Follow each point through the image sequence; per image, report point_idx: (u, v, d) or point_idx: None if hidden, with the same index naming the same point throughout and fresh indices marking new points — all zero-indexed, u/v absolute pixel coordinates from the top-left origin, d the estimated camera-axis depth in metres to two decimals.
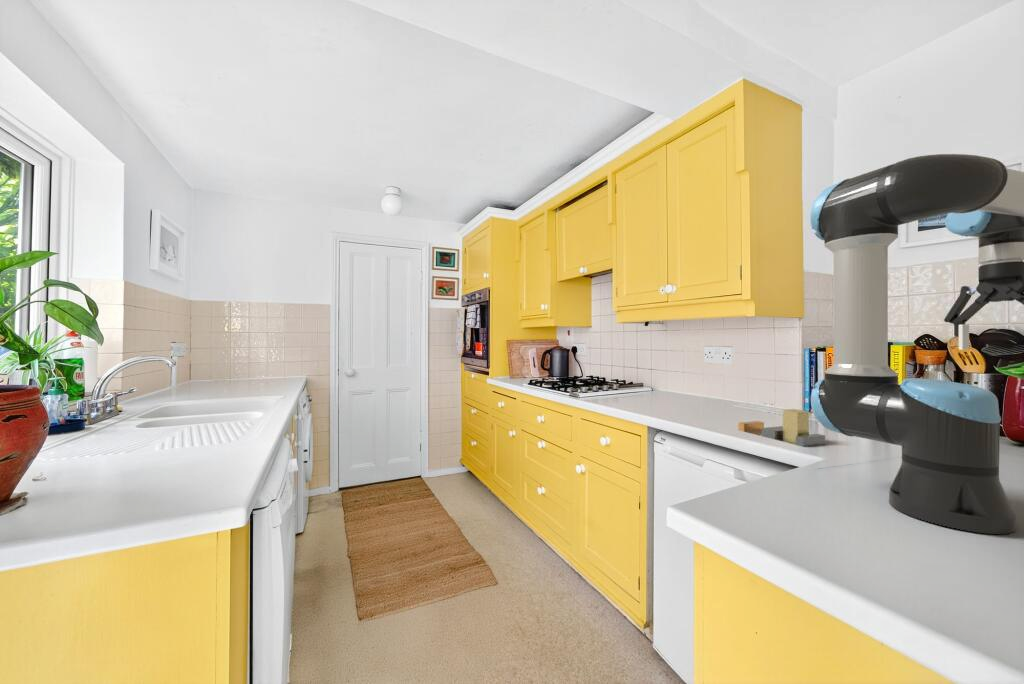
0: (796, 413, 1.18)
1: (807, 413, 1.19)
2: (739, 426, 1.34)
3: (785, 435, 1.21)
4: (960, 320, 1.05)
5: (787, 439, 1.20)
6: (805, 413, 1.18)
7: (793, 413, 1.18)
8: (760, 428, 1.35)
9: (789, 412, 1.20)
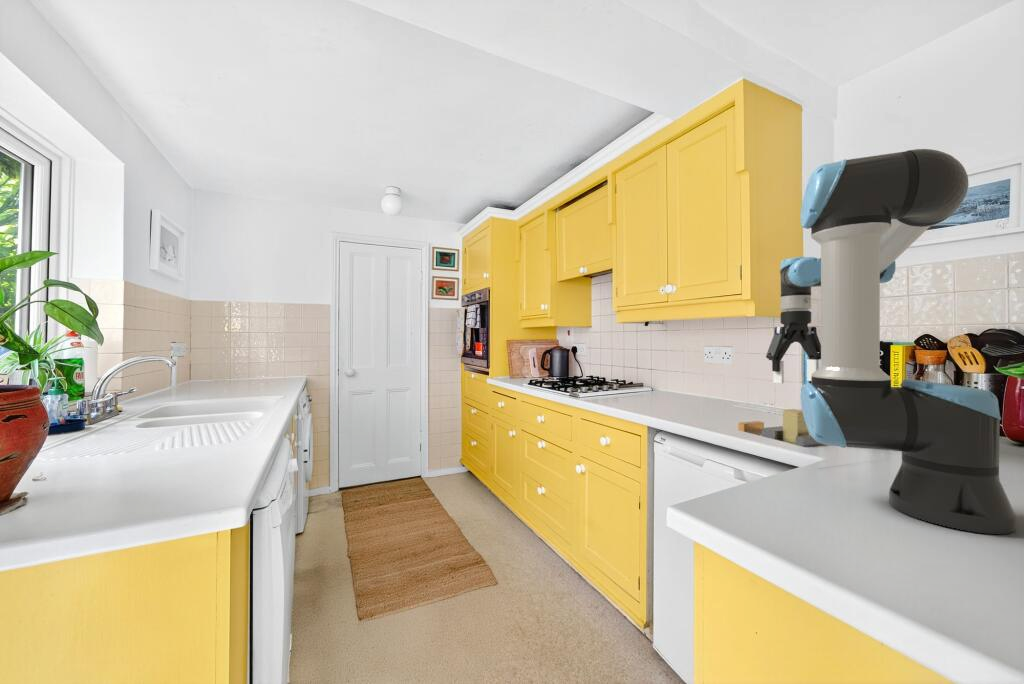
0: (796, 413, 1.18)
1: None
2: (739, 426, 1.34)
3: (785, 435, 1.21)
4: (808, 355, 1.23)
5: (787, 439, 1.20)
6: None
7: (793, 413, 1.18)
8: (760, 428, 1.35)
9: (789, 412, 1.20)
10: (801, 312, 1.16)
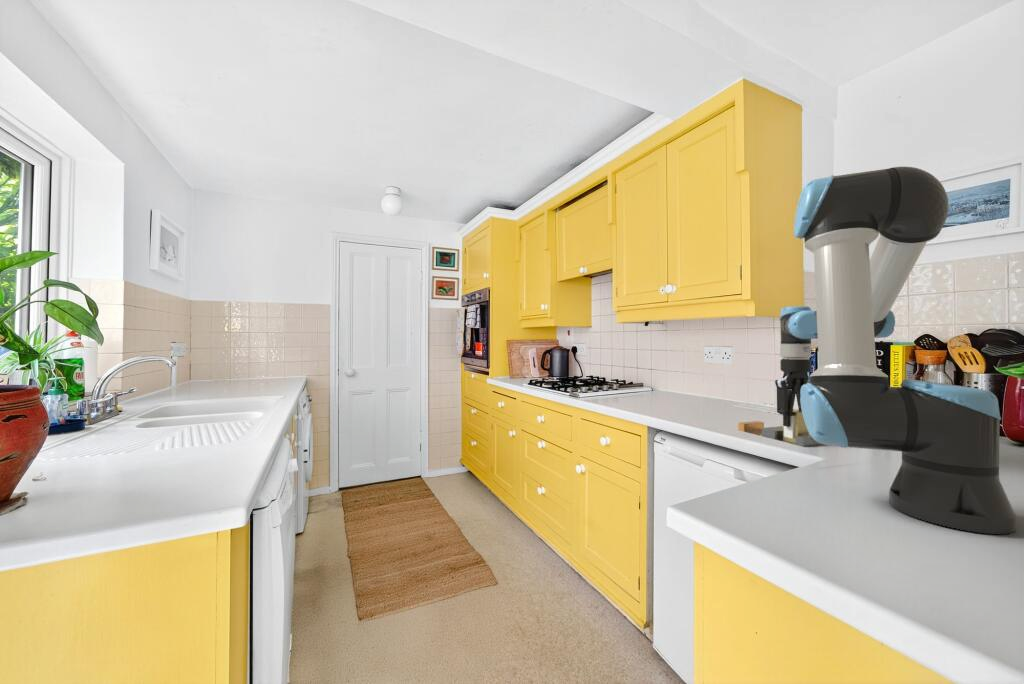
0: (796, 413, 1.18)
1: None
2: (739, 426, 1.34)
3: None
4: (799, 409, 1.22)
5: (787, 439, 1.20)
6: None
7: (793, 413, 1.18)
8: (760, 428, 1.35)
9: None
10: (801, 361, 1.16)
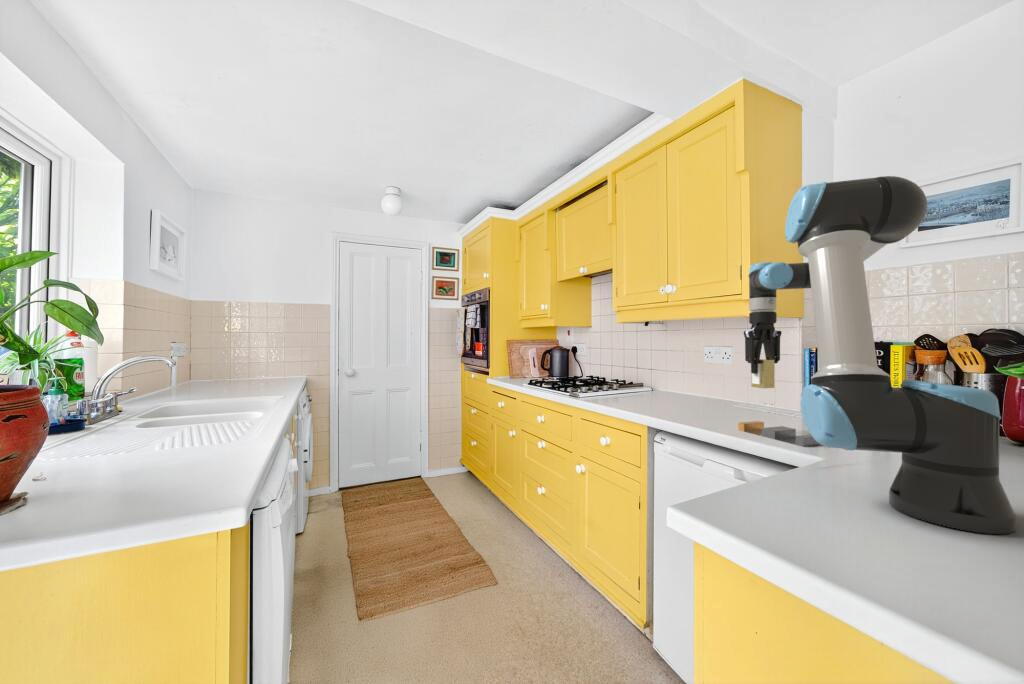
0: (762, 361, 1.28)
1: (773, 361, 1.29)
2: (739, 426, 1.34)
3: None
4: (766, 358, 1.33)
5: (755, 386, 1.31)
6: (771, 361, 1.29)
7: (760, 361, 1.29)
8: (760, 428, 1.35)
9: None
10: (767, 313, 1.27)
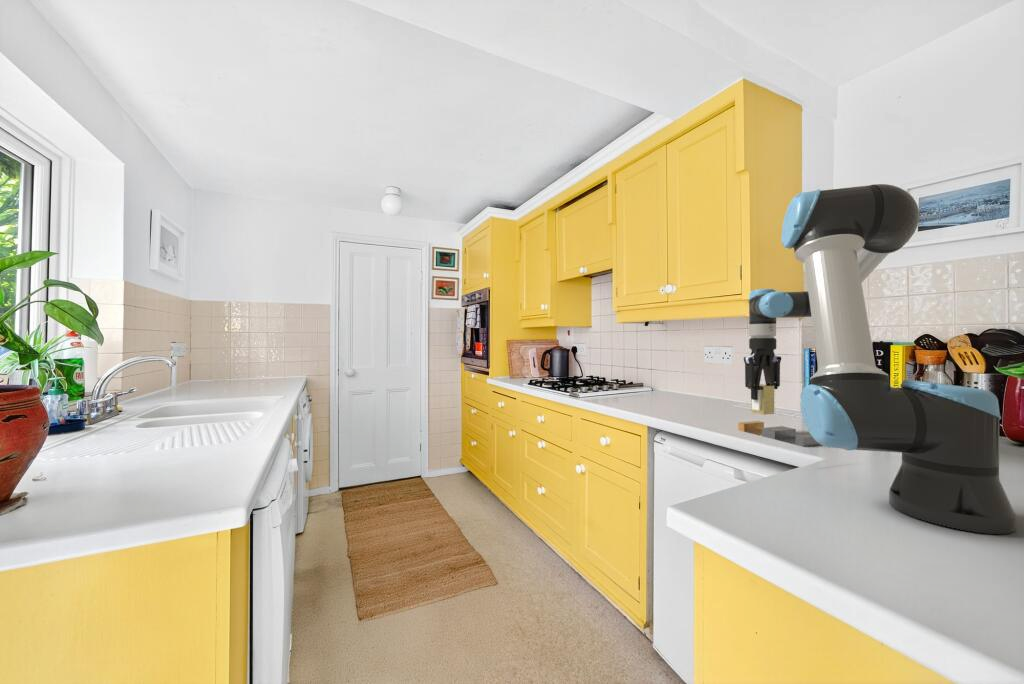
0: (762, 387, 1.28)
1: (773, 387, 1.29)
2: (739, 426, 1.34)
3: None
4: (766, 384, 1.33)
5: (755, 411, 1.31)
6: (771, 387, 1.29)
7: (760, 387, 1.29)
8: (760, 428, 1.35)
9: None
10: (767, 339, 1.27)
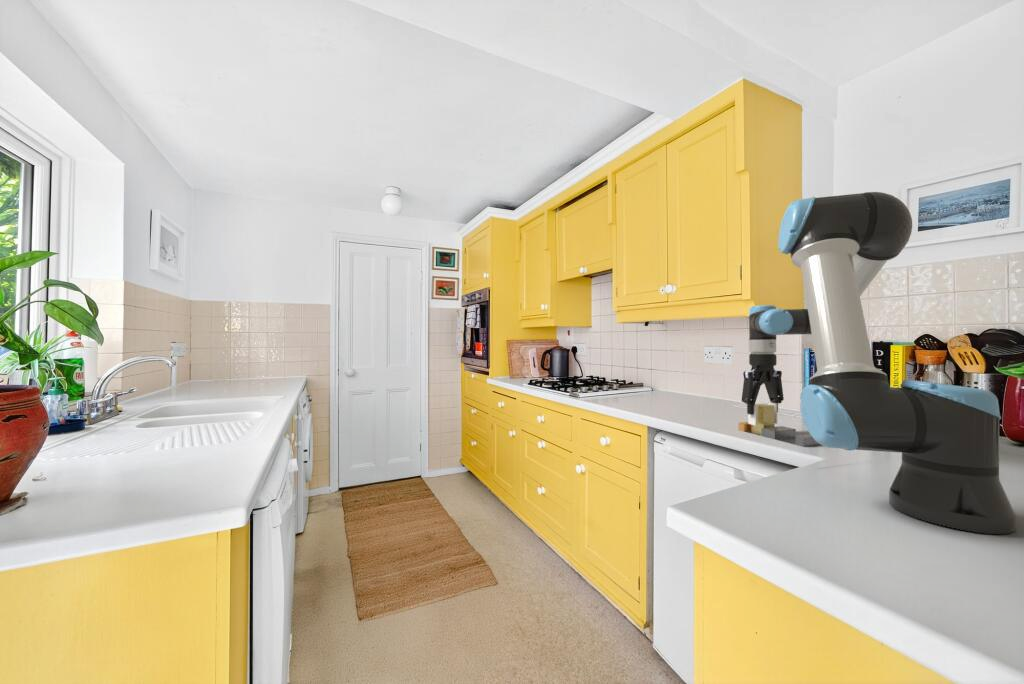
0: (762, 407, 1.28)
1: (773, 407, 1.29)
2: (739, 426, 1.34)
3: (753, 427, 1.31)
4: (770, 398, 1.33)
5: (755, 431, 1.31)
6: (771, 407, 1.29)
7: (760, 407, 1.29)
8: None
9: None
10: (767, 356, 1.27)
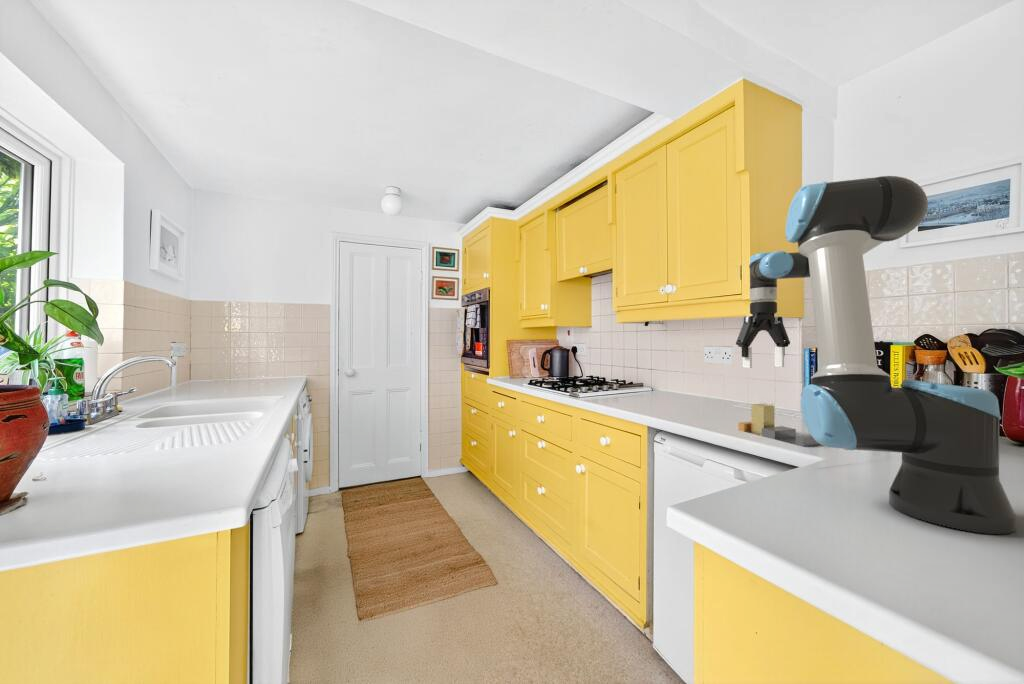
0: (762, 407, 1.28)
1: (773, 407, 1.29)
2: (739, 426, 1.34)
3: (753, 427, 1.31)
4: (776, 343, 1.34)
5: (755, 431, 1.31)
6: (771, 407, 1.29)
7: (760, 407, 1.29)
8: None
9: (756, 406, 1.30)
10: (767, 303, 1.27)
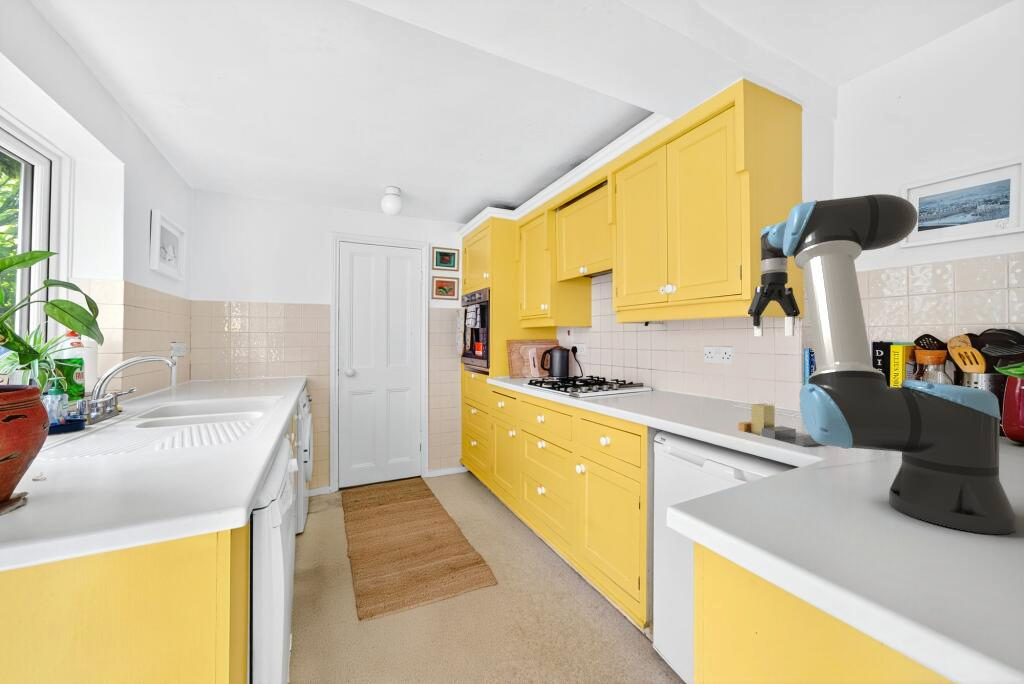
0: (762, 407, 1.28)
1: (773, 407, 1.29)
2: (739, 426, 1.34)
3: (753, 427, 1.31)
4: (786, 314, 1.38)
5: (755, 431, 1.31)
6: (771, 407, 1.29)
7: (760, 407, 1.29)
8: None
9: (756, 406, 1.30)
10: (778, 273, 1.32)
